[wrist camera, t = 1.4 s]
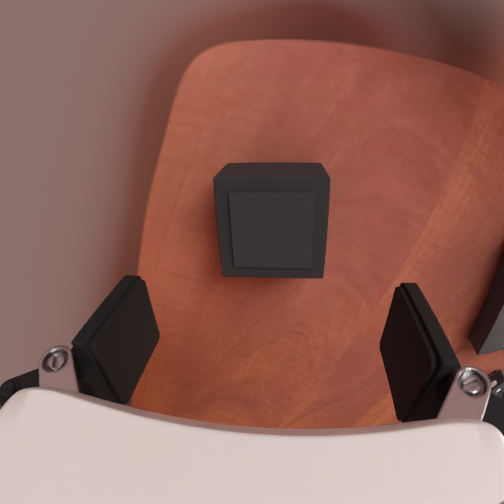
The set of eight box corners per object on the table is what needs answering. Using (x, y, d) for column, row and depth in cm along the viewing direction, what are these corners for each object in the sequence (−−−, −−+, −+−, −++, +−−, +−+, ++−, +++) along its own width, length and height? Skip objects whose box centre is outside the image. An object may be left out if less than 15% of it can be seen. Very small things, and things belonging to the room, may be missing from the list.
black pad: (227, 163, 18) (211, 178, 15) (321, 163, 18) (330, 178, 14) (233, 246, 21) (221, 278, 17) (317, 247, 20) (323, 280, 17)
